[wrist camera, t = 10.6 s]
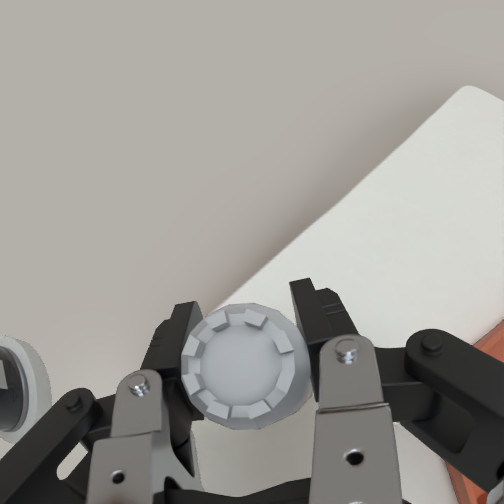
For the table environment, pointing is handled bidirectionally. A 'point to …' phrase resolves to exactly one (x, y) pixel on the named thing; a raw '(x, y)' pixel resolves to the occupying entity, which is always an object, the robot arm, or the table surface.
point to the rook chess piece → (246, 367)
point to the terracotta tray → (468, 494)
